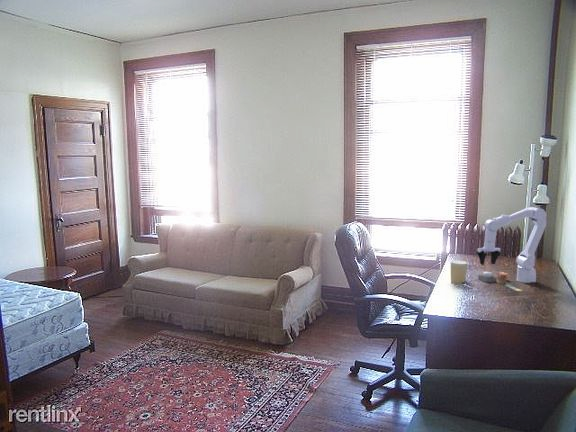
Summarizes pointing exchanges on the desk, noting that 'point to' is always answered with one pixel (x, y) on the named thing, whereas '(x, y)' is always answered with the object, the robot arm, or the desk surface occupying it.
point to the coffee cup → (458, 271)
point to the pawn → (502, 279)
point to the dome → (487, 274)
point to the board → (493, 279)
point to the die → (503, 273)
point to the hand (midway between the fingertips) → (487, 264)
